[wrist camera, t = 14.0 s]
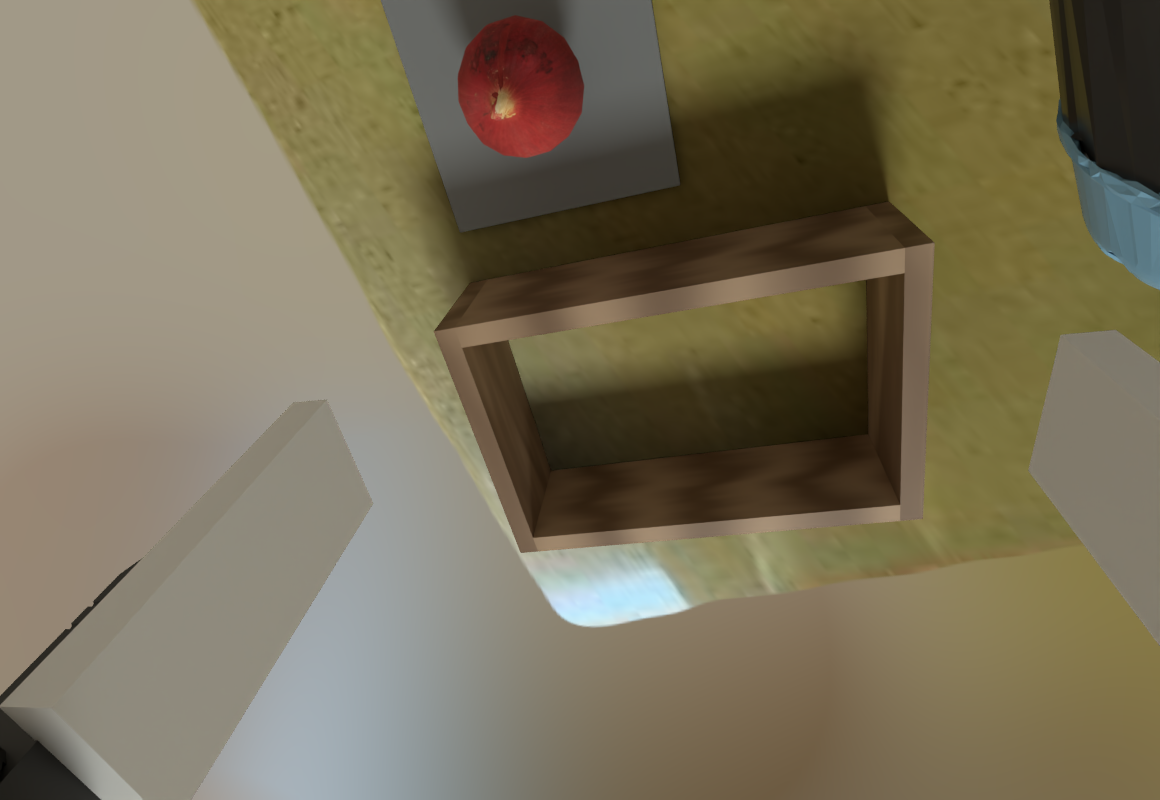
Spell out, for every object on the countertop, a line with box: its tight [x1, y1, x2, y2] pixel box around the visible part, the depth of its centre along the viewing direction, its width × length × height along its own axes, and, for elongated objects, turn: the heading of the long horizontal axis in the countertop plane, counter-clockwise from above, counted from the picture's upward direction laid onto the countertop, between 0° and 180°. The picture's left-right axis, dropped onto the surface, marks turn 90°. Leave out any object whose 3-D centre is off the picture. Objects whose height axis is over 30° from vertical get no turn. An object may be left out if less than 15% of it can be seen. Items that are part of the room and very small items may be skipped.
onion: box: [458, 15, 584, 158], centre depth 29 cm, size 6×6×8 cm
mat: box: [381, 0, 680, 233], centre depth 33 cm, size 13×13×1 cm
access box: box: [434, 202, 934, 553], centre depth 38 cm, size 24×16×7 cm
